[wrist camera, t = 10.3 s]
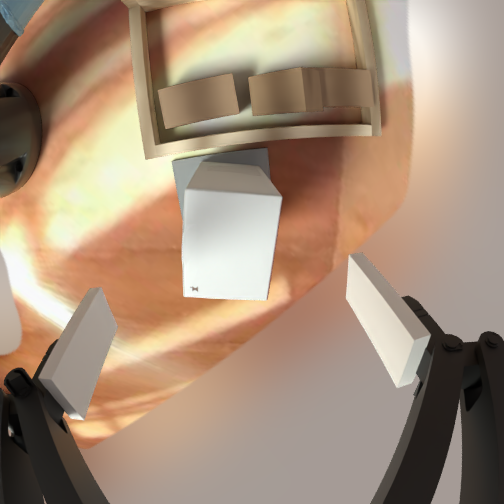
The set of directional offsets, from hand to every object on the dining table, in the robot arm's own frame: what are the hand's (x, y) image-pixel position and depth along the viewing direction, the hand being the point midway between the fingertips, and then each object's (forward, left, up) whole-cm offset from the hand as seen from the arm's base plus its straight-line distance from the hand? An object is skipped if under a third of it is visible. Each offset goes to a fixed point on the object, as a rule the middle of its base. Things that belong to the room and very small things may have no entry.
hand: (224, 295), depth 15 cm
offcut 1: (-1, +11, -19) cm, 22 cm away
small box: (0, 0, -18) cm, 18 cm away
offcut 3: (+13, +11, -19) cm, 25 cm away
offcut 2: (+8, +10, -16) cm, 21 cm away
